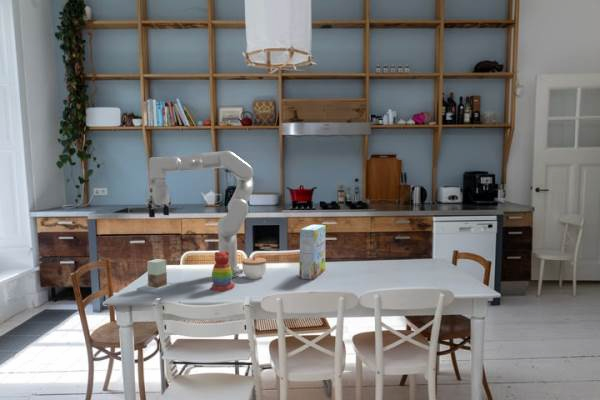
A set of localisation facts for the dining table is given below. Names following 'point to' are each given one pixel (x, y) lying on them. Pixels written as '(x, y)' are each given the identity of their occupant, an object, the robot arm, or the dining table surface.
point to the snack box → (312, 251)
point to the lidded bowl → (254, 267)
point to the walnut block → (157, 280)
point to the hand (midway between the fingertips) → (159, 216)
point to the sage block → (156, 267)
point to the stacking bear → (222, 273)
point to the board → (156, 290)
